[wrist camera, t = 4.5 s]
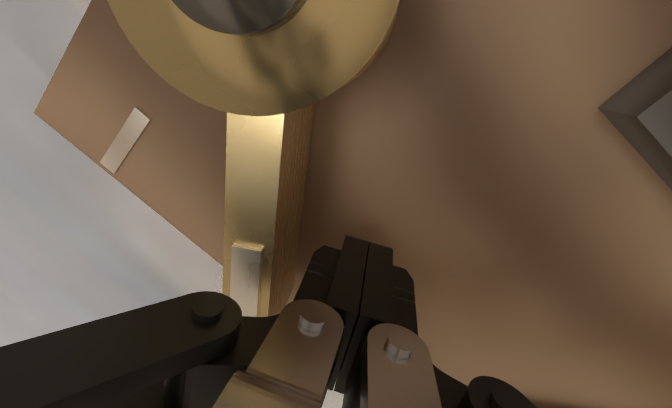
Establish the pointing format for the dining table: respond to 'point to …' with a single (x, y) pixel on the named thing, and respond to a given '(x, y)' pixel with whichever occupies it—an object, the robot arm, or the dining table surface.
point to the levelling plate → (453, 179)
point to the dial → (260, 108)
